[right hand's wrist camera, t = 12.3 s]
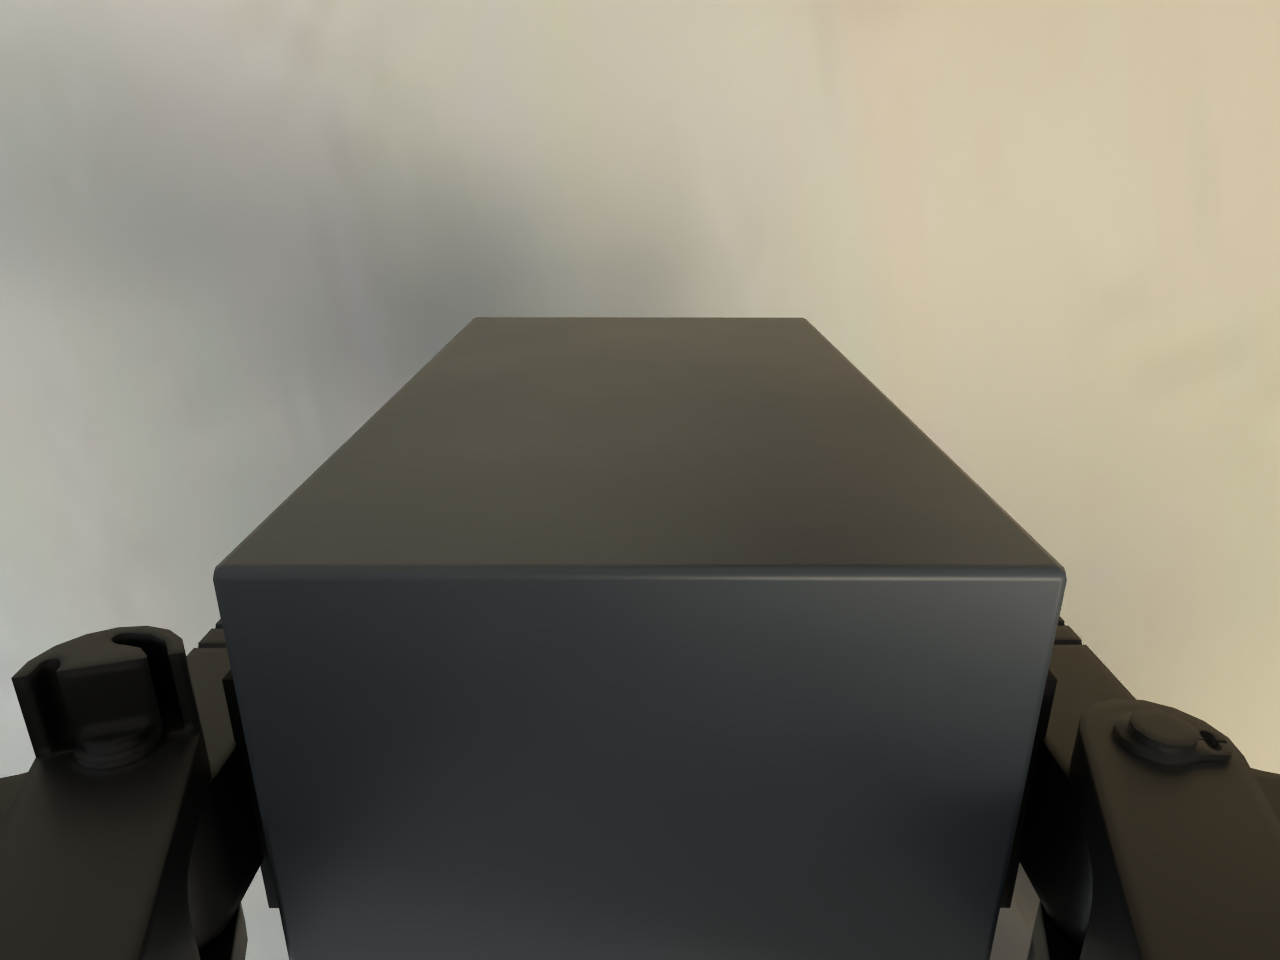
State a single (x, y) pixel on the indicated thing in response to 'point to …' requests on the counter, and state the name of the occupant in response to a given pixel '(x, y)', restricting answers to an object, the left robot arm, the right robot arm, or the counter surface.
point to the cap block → (639, 661)
